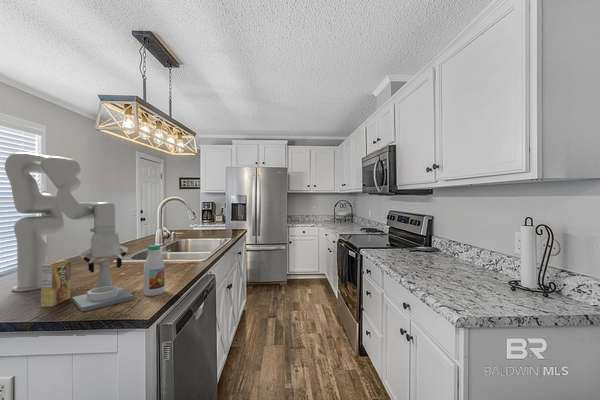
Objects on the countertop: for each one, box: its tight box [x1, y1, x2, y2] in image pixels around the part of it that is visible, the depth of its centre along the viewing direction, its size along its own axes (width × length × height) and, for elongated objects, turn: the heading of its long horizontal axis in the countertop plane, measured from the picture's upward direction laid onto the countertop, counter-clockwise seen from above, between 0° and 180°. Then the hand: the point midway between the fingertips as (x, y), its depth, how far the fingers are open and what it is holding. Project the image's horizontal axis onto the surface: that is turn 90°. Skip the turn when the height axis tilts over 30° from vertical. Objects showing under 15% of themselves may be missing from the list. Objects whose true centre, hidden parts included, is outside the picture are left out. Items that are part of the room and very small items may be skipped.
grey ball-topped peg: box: [95, 258, 113, 288], centre depth 117 cm, size 6×6×13 cm
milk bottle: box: [143, 244, 166, 297], centre depth 112 cm, size 8×8×20 cm
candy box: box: [40, 259, 72, 308], centre depth 102 cm, size 9×4×15 cm, turn 6°
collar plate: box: [71, 285, 134, 313], centre depth 105 cm, size 16×16×4 cm
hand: (105, 269), depth 117 cm, fingers open, 9 cm apart
